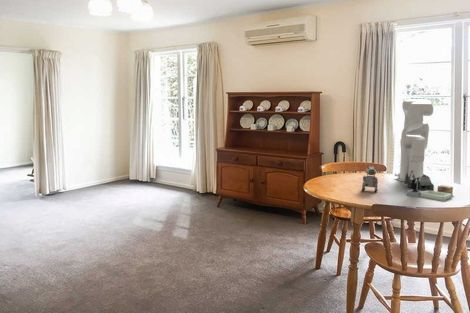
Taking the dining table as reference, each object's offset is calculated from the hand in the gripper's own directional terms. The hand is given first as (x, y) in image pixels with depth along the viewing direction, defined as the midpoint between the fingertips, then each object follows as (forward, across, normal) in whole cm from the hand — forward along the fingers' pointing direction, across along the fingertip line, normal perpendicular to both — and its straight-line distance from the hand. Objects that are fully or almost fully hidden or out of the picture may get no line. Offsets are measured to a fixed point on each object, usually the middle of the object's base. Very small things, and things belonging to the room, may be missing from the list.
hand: (415, 188), depth 252 cm
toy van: (+5, -17, -6) cm, 19 cm away
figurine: (+4, +10, -24) cm, 26 cm away
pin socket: (+4, 0, 0) cm, 4 cm away
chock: (+4, -17, +11) cm, 20 cm away
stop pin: (+3, 0, 0) cm, 3 cm away
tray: (+4, -4, +11) cm, 12 cm away
